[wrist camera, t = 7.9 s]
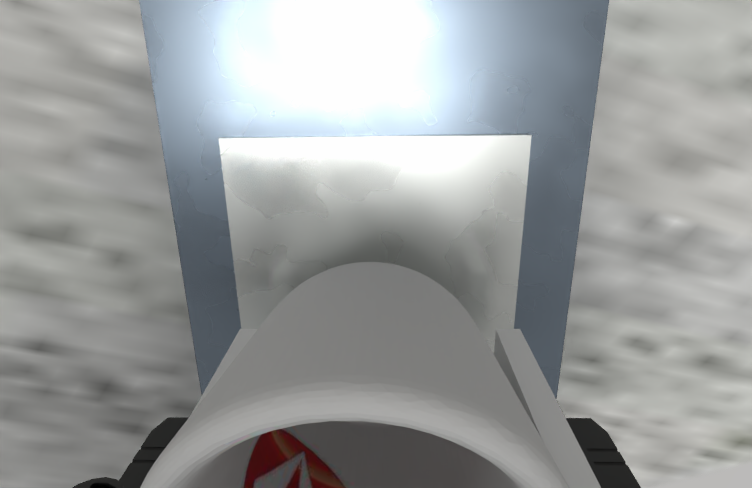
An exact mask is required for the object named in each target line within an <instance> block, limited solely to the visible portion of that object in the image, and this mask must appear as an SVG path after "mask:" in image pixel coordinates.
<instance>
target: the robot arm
mask: <svg viewBox="0 0 752 488" xmlns="http://www.w3.org/2000/svg"><path fill="white" fill-rule="evenodd" d="M257 330H258V329H240V330H239V332H238V334H237V335H236V337H235V339H234V341H233V342H232V344H231V346H230V347H229V349H228V351H227V353H226V354H225V356H224V358H223V360H222V361H221V363H220V365H219V367H218V368H217V370H216V372H215V374H214V375H213V377H212V379H211V381H210V382H209V384H208V386H207V387H206V389H205V391H204V393H203V394H202V396H201V398H200V400H199V401H198V403H197V405H196V407H195V408H194V410H193V412H194V411H195V409H196V408H197V407H198V405H199V404H200V403H201V402H202V400H203V399H204V398H205V396H206V395H207V394H208V393H209V391H210V390H211V389H212V387H213V386H214V385H215V384H216V382H217V381H218V380H219V378H220V377H221V376H222V375H223V373H224V372H225V371H226V369H227V368H228V367H229V366H230V364H231V363H232V362H233V360H234V359H235V358H236V357H237V355H238V354H239V353H240V351H241V350H242V349H243V348H244V346H245V345H246V344H247V342H248V341H249V340H250V339H251V337H252V336H253V335H254V333H255V332H256V331H257ZM494 356H495V358H496V359H497V361H498V363H499V365H500V367H501V368H502V370H503V372H504V374H505V375H506V377H507V379H508V381H509V382H510V384H511V386H512V388H513V389H514V391H515V393H516V395H517V396H518V398H519V400H520V402H521V403H522V405H523V407H524V409H525V410H526V412H527V414H528V416H529V417H530V419H531V421H532V423H533V424H534V426H535V428H536V430H537V431H538V433H539V435H540V437H541V439H542V440H543V442H544V444H545V446H546V447H547V449H548V451H549V453H550V454H551V456H552V458H553V460H554V461H555V463H556V465H557V467H558V468H559V470H560V472H561V474H562V475H563V477H564V479H565V481H566V482H567V484H568V486H569V488H641V487H640V485H639V484H638V482H637V480H636V479H635V477H634V476H633V474H632V472H631V471H630V469H629V467H628V466H627V465H626V464H625V461H624V459H623V457H622V456H621V454H620V452H618V451H617V447H616V446H615V444H614V443H613V441H612V439H611V438H610V436H609V434H608V433H607V432H606V431H605V430H604V429H603V428H602V427H600V426H599V425H598V424H597V423H596V422H594V421H593V420H592V419H591V418H565V416H564V414H563V412H562V410H561V408H560V406H559V404H558V402H557V400H556V398H555V396H554V394H553V392H552V390H551V388H550V387H549V385H548V383H547V381H546V379H545V377H544V375H543V373H542V371H541V369H540V367H539V365H538V363H537V361H536V359H535V357H534V355H533V353H532V351H531V349H530V347H529V345H528V343H527V342H526V340H525V338H524V336H523V334H522V332H521V330H520V329H496V333H495V345H494ZM193 412H192V413H193ZM190 416H191V415H190ZM187 420H188V418H167V419H166V420H165V421H163V422H162V423H161V424H160V425H158V426H157V427H156V428H155V429H154V430H152V431H151V433H150V434H149V436H148V437H147V439H146V440H145V442H144V443H143V445H142V446H141V450H139V451H138V453H137V454H136V456H135V457H134V459H133V462H132V463H130V465H129V466H128V468H127V469H126V471H125V472H124V474H123V475H122V477H121V478H120V480H119V481H118V480H116V479H112V478H107V477H104V478H96V479H91V480H88V481H86V482H83V483H80V484H78V485H76V486H74V487H73V488H140V487H141V485H142V483H143V481H144V479H145V477H146V475H147V474H148V472H149V471H150V469H151V467H152V466H153V464H154V463H155V461H156V460H157V458H158V457H159V456H160V454H161V453H162V452H163V450H164V449H165V448H166V447H167V445H168V444H169V443H170V441H171V440H172V439H173V438H174V436H175V435H176V434H177V432H178V431H179V430H180V429H181V427H182V426H183V425H184V423H185V422H186V421H187Z"/></svg>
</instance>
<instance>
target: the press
mask: <svg viewBox="0 0 752 488" xmlns="http://www.w3.org/2000/svg"><path fill="white" fill-rule="evenodd" d="M139 3H140V9H141V15H142V21H143V28H144V34H145V40H146V47H147V53H148V59H149V66H150V72H151V78H152V84H153V91H154V97H155V103H156V110H157V116H158V122H159V129H160V135H161V141H162V148H163V154H164V160H165V166H166V173H167V179H168V185H169V192H170V198H171V204H172V211H173V217H174V223H175V229H176V236H177V242H178V248H179V255H180V261H181V267H182V274H183V280H184V286H185V293H186V299H187V305H188V311H189V318H190V324H191V330H192V337H193V343H194V349H195V356H196V362H197V368H198V374H199V381H200V387H201V393H202V394H203V393H204V391H205V389H206V387H207V386H208V384H209V382H210V381H211V379H212V377H213V375H214V374H215V372H216V370H217V368H218V367H219V365H220V363H221V361H222V360H223V358H224V356H225V354H226V353H227V351H228V349H229V347H230V346H231V344H232V342H233V341H234V339H235V337H236V335H237V334H238V332H239V330H240V329H258V328H259V327H260V326H261V324H262V323H263V322H264V321H265V319H266V318H267V317H268V316H269V314H270V313H271V312H272V311H273V309H274V308H275V307H276V306H277V305H278V304H279V303H280V302H281V301H282V300H283V299H284V298H285V297H286V296H287V295H288V294H289V293H290V292H291V291H292V290H294V289H295V288H296V287H297V286H299V285H300V284H301V283H303V282H304V281H306V280H308V279H309V278H311V277H313V276H315V275H317V274H319V273H321V272H323V271H326V270H328V269H331V268H334V267H337V266H341V265H346V264H351V263H360V262H381V263H389V264H394V265H399V266H402V267H406V268H409V269H412V270H414V271H417V272H419V273H421V274H423V275H425V276H427V277H429V278H431V279H432V280H434V281H435V282H437V283H438V284H440V285H441V286H443V287H444V288H445V289H446V290H447V291H449V292H450V293H451V294H452V295H453V296H454V297H455V298H456V299H457V300H458V301H459V302H460V303H461V304H462V306H463V307H464V308H465V309H466V310H467V312H468V313H469V314H470V316H471V317H472V319H473V320H474V322H475V323H476V325H477V327H478V328H479V330H480V331H481V333H482V335H483V337H484V338H485V340H486V342H487V344H488V345H489V347H490V349H491V351H492V352H493V354H494V345H495V333H496V329H520V330H521V332H522V334H523V336H524V338H525V340H526V342H527V343H528V345H529V347H530V349H531V351H532V353H533V355H534V357H535V359H536V361H537V363H538V365H539V367H540V369H541V371H542V373H543V375H544V377H545V379H546V381H547V383H548V385H549V387H550V388H551V390H552V392H553V394H554V396H555V398H557V390H558V383H559V375H560V367H561V360H562V352H563V345H564V337H565V330H566V322H567V314H568V307H569V299H570V292H571V284H572V277H573V269H574V262H575V254H576V246H577V239H578V231H579V224H580V216H581V209H582V201H583V193H584V186H585V178H586V171H587V163H588V156H589V148H590V141H591V133H592V125H593V118H594V110H595V103H596V95H597V88H598V80H599V73H600V65H601V57H602V50H603V42H604V35H605V27H606V20H607V12H608V4H609V0H139Z"/></svg>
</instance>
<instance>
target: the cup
mask: <svg viewBox="0 0 752 488" xmlns="http://www.w3.org/2000/svg"><path fill="white" fill-rule="evenodd" d="M140 488H569V486H568V484H567V482H566V481H565V479H564V477H563V475H562V474H561V472H560V470H559V468H558V467H557V465H556V463H555V461H554V460H553V458H552V456H551V454H550V453H549V451H548V449H547V447H546V446H545V444H544V442H543V440H542V439H541V437H540V435H539V433H538V431H537V430H536V428H535V426H534V424H533V423H532V421H531V419H530V417H529V416H528V414H527V412H526V410H525V409H524V407H523V405H522V403H521V402H520V400H519V398H518V396H517V395H516V393H515V391H514V389H513V388H512V386H511V384H510V382H509V381H508V379H507V377H506V375H505V374H504V372H503V370H502V368H501V367H500V365H499V363H498V361H497V359H496V358H495V356H494V354H493V352H492V351H491V349H490V347H489V345H488V344H487V342H486V340H485V338H484V337H483V335H482V333H481V331H480V330H479V328H478V327H477V325H476V323H475V322H474V320H473V319H472V317H471V316H470V314H469V313H468V312H467V310H466V309H465V308H464V307H463V306H462V304H461V303H460V302H459V301H458V300H457V299H456V298H455V297H454V296H453V295H452V294H451V293H450V292H449V291H447V290H446V289H445V288H444V287H443V286H441V285H440V284H438V283H437V282H435V281H434V280H432V279H431V278H429V277H427V276H425V275H423V274H421V273H419V272H417V271H414V270H412V269H409V268H406V267H402V266H399V265H394V264H389V263H381V262H360V263H351V264H346V265H341V266H337V267H334V268H331V269H328V270H326V271H323V272H321V273H319V274H317V275H315V276H313V277H311V278H309V279H308V280H306V281H304V282H303V283H301V284H300V285H299V286H297V287H296V288H295V289H294V290H292V291H291V292H290V293H289V294H288V295H287V296H286V297H285V298H284V299H283V300H282V301H281V302H280V303H279V304H278V305H277V306H276V307H275V308H274V309H273V311H272V312H271V313H270V314H269V316H268V317H267V318H266V319H265V321H264V322H263V323H262V324H261V326H260V327H259V328H258V330H257V331H256V332H255V333H254V335H253V336H252V337H251V339H250V340H249V341H248V342H247V344H246V345H245V346H244V348H243V349H242V350H241V351H240V353H239V354H238V355H237V357H236V358H235V359H234V360H233V362H232V363H231V364H230V366H229V367H228V368H227V369H226V371H225V372H224V373H223V375H222V376H221V377H220V378H219V380H218V381H217V382H216V384H215V385H214V386H213V387H212V389H211V390H210V391H209V393H208V394H207V395H206V396H205V398H204V399H203V400H202V402H201V403H200V404H199V405H198V407H197V408H196V409H195V411H194V412H193V413H192V414H191V416H190V417H189V418H188V420H187V421H186V422H185V423H184V425H183V426H182V427H181V429H180V430H179V431H178V432H177V434H176V435H175V436H174V438H173V439H172V440H171V441H170V443H169V444H168V445H167V447H166V448H165V449H164V450H163V452H162V453H161V454H160V456H159V457H158V458H157V460H156V461H155V463H154V464H153V466H152V467H151V469H150V471H149V472H148V474H147V475H146V477H145V479H144V481H143V483H142V485H141V487H140Z"/></svg>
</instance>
